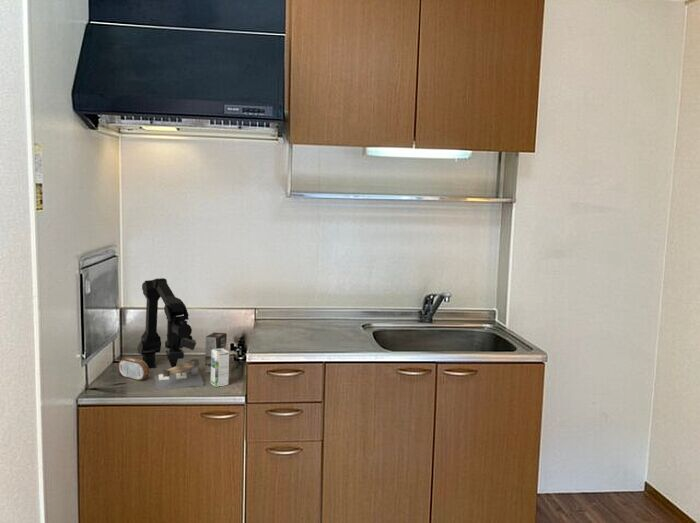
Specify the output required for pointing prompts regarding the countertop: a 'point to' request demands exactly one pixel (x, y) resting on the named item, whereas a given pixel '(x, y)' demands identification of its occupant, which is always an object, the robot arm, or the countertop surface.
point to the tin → (133, 368)
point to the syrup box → (219, 367)
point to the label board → (180, 379)
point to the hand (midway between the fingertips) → (173, 369)
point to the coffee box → (213, 347)
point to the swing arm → (181, 367)
